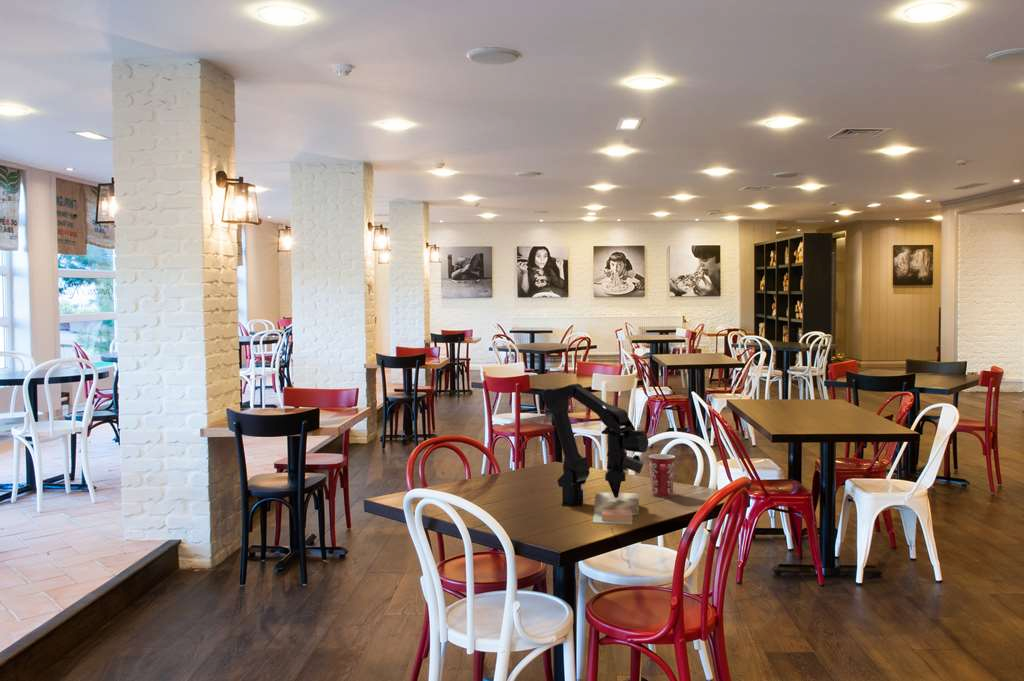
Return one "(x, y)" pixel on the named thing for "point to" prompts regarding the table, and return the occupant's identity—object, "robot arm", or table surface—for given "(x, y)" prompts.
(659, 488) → the mug
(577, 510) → the table surface
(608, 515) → the flat rectangular block
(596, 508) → the deck
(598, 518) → the mat
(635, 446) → the robot arm
